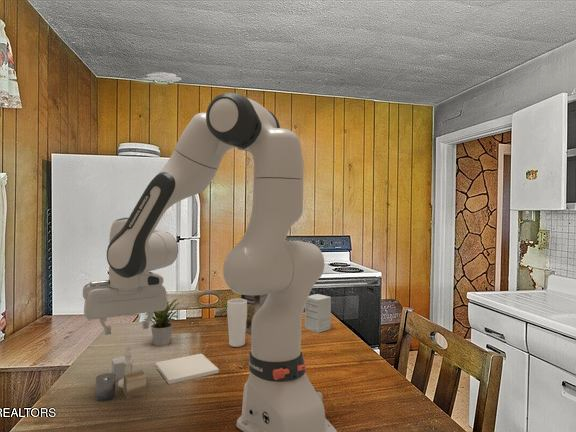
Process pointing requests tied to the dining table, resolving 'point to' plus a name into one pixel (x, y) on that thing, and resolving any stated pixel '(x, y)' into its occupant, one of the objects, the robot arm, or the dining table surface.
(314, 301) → the supplement box
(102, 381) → the metal tin
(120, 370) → the grey block
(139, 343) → the dining table surface
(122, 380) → the chess piece
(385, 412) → the dining table surface
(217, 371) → the ceramic tile
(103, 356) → the dining table surface
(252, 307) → the coffee box
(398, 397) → the dining table surface
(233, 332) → the drinking glass
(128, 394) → the birch block
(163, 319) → the house plant
